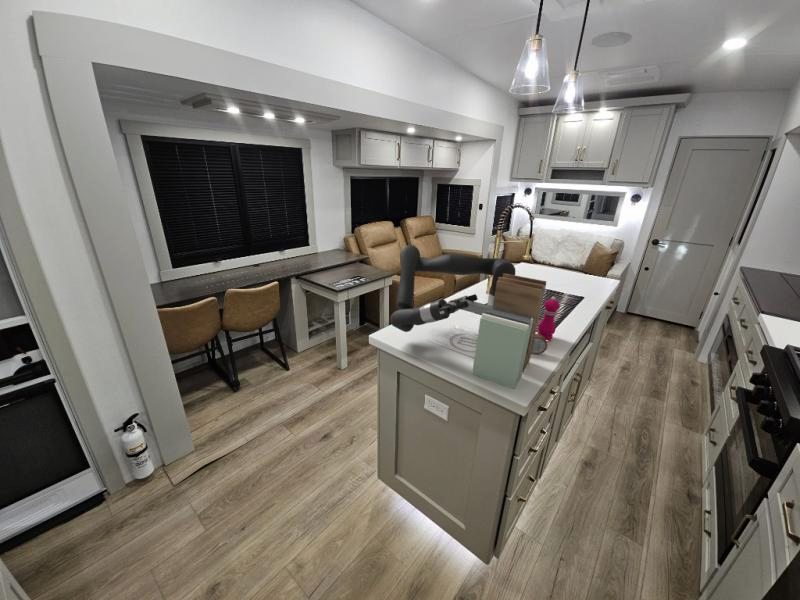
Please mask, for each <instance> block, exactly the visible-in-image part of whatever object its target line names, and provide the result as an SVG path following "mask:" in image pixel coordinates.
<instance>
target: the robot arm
mask: <svg viewBox="0 0 800 600" xmlns="http://www.w3.org/2000/svg"><path fill="white" fill-rule="evenodd" d="M399 260H400V261H399V264H400V276H399V282H398V288H397V289H398V290H397V294H396V295H397V296H396V303H395V305H396V307H397V308H398V310H396V311H393V313H392V314H391V315H390V318H389V323H390V324H391V325H392V327H395V329H398V330H400V331H402V332H404V333H408V332H411V331H412V330H413V328H414V326H422V325H425V324H429V323H434V322H435V323H436V322H439V321H443V320H445V319H448V318H449V317H450V316H451V315H450V314H455V313H456V312H458V311H459V310H461V309H463V308H466V307H468V306H469V304H468V302H467V301H463V302H460V301H461V300H462V299H466V300H470V301H474V302H477V300H478V295H477V294H476V293H474V294H471V295H464V296H461V297H458V298H454V299H451V300H449V301H448V302H447V301H446V300H445V299H443V298H440V299H438V300H434V301H431V302H428V303H426V304H424V305H420V306H418V307H413V306H414V305H413V304H414V298H415V297H414V296H415V278H416V277H415V276H416V272H420V273H421V272H426V273H427V272H428V273H438V274H448V275H454V276H455V275H457V276H469V275H470V276H471V275H477V274H478V275H479V274H480V275H488V276H492V280H491V281H492V282H491V285H490V287H489V289H488V291H489V292H488V298H487V304H486V305H490V306H493V302H494V296H495V290H496V284H497V281H498V277H503V274H504V273H505V274H510V275H516V268H515V266H514V264H513V263H512V262H511V261H510V260H509V259H507V258H499V257H497V258H491V257H489V258H487V257H486V258H485V257H477V256H472V255H465V254H456V253H447V254H443V255H439V256H435V257H424V256H423V257H422V256H421V253H420V249H419V248H418V247H417V246H415V245H413V244H409V245H405V246H404V247H403V248H401V251H400V253H399Z"/></svg>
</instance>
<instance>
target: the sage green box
mask: <svg viewBox="0 0 800 600" xmlns="http://www.w3.org/2000/svg"><path fill="white" fill-rule="evenodd" d="M532 323H533V319H532V320H531V325H530V326H529V325H527V324H523V323H519V322H515V321H511V320H507V319H504V318H500V317H496V316H492V315H488V314H484V313H483V314H482V315H481V317H480V320H479V326H478V334H477V337H476V338H477V339H476V345H475V354H474V359H473V367H472V371H471V374H472V375H473V376H476V377H480V378H482V379H483V380H488V381H491V382H493V383H495V384H498V385H501V386H503V387H506V388H509V389H512V390H515V389H516V388H517V386H518V383H519V382H520V380H521V378H522V375H523V372H522V370H523V366H524V361H525V356H526V352H527V347H528V342H529V338H530V333H531V328H532Z"/></svg>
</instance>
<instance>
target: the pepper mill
mask: <svg viewBox="0 0 800 600" xmlns="http://www.w3.org/2000/svg"><path fill="white" fill-rule="evenodd" d="M543 306H544V311H543V312H544V316H543V319H542V320H541V321H540V322H539V324H537V331H538V332H537V334H539V335H542V336H543V337H545V339H546V340H550V341H552V340H551V339H553V335H554V334H555V333H556V325H555V316H556V315H557V313H558V310H559V309H560V306H561V305H560V303H559V301H558V300H557V298H556V296H552V297H551V298H550V299H547V300H546V301H545V302H544V304H543Z"/></svg>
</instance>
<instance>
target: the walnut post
mask: <svg viewBox="0 0 800 600" xmlns="http://www.w3.org/2000/svg"><path fill="white" fill-rule="evenodd" d="M546 286H547V280H546V281H545V280H542V279H536V278H531V277H525V276H519V275H516V274H515V275H510V274H505V273H504V274H503V277H498V281H497V284H496V290H495V296H494V302H493V306H494V307H498V308H502V309H506V310H510V311H515V312H519V313H523V314H527V315H531V316H532V319H533V323H532V328H531V333H530V338H529V342H528V347H527V352H526V356H525V361H524V366H523V370H522V373H524V372H525V370H526V369H527V367H528V365H529V363H530V361H531V351H532V346H533V342H534V337H535V334H536V332H537V329H538V325H539V324H538V323H539V319H540V314H541V310H542V304H543V300H544V295H545V292H546Z"/></svg>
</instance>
